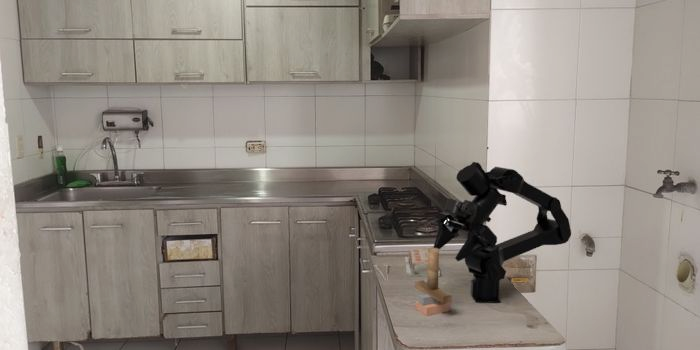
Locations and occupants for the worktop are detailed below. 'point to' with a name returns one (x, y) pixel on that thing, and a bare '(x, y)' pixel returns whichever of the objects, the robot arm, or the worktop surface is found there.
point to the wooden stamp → (433, 279)
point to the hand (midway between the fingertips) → (445, 255)
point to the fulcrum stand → (430, 305)
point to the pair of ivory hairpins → (380, 271)
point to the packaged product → (417, 263)
